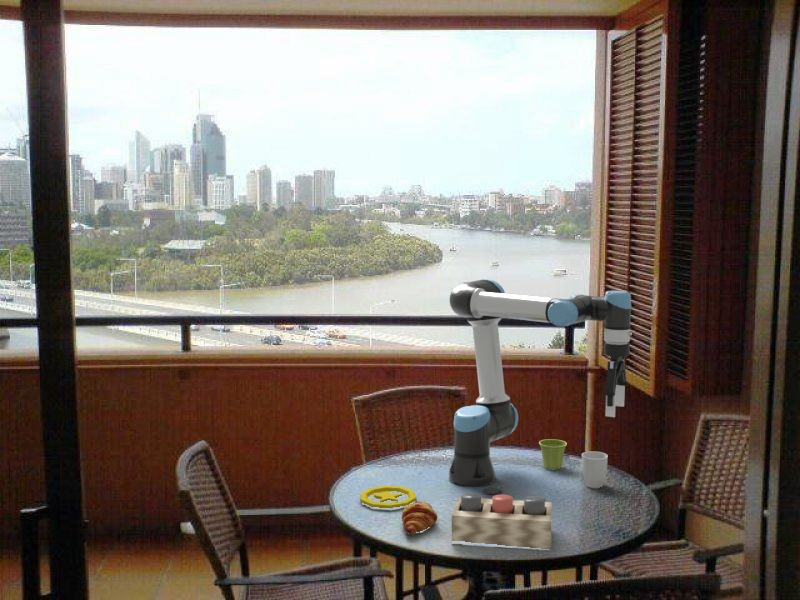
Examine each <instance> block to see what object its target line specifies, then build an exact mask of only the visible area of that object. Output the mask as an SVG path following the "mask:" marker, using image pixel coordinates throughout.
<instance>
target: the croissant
mask: <svg viewBox="0 0 800 600" xmlns="http://www.w3.org/2000/svg"><path fill="white" fill-rule="evenodd" d="M401 521H402V526H403V529H404V532H405V531H406V532H407V533H406V532H405V533H406V534H408V533H409V534H408V535H410V534H412V535H415V534H414V533H416V532H420V531H423V530H425V529H427V528H428V527H430V528H432V526H433V525H435V524H436V522H437V521H438V514H437V512H436V511H435V509H434V508H433V506H432V505H431V504H430V503H429V502H426V501H416V502H415V503H413V504H410V505H408V506H406V507H405V508H404V509H402V511H401Z"/></svg>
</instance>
